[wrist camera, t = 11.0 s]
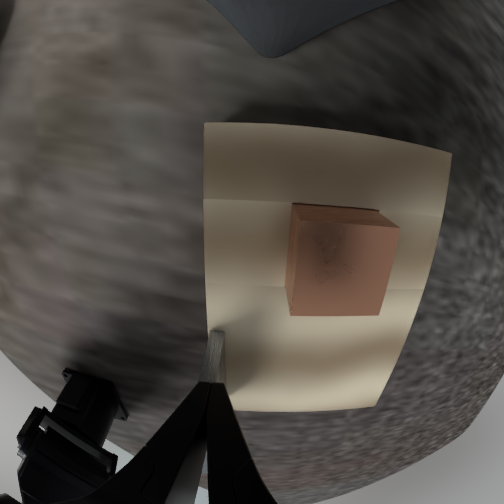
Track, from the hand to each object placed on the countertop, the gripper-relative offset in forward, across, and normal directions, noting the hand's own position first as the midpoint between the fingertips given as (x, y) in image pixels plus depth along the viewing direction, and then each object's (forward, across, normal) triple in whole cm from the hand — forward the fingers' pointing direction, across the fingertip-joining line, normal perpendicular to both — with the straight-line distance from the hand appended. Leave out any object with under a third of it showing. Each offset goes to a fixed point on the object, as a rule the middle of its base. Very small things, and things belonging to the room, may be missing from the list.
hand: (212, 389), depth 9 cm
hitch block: (+10, -5, 0) cm, 11 cm away
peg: (+10, -5, -3) cm, 11 cm away
